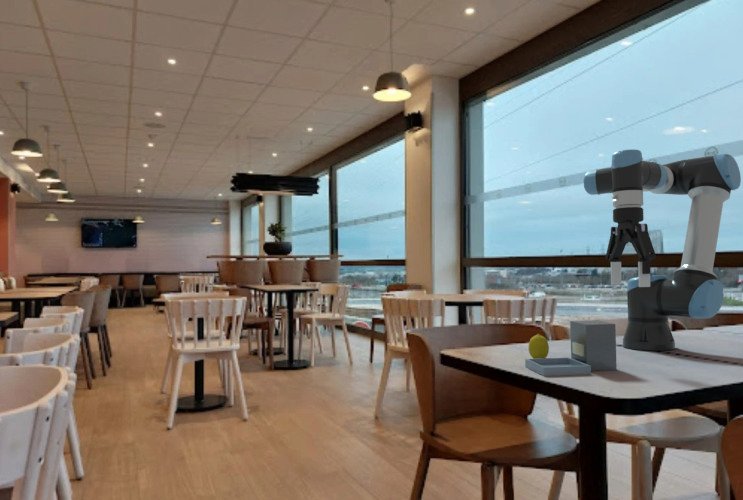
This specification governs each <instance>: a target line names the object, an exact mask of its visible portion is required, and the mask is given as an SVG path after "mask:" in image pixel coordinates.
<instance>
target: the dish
mask: <svg viewBox="0 0 743 500" xmlns="http://www.w3.org/2000/svg"><path fill="white" fill-rule="evenodd" d="M524 364H525V368H527V369H529V370H531V371H533V372H535V373H537V374H539V375H542V376H543V377H551V376H578V375H580V376H581V375H592V371H591V366H590V365H587V364H585V363H582V362H580V361H577V360H574V359H572V358H571V357H546V358H538V359H534V358H525V359H524Z"/></svg>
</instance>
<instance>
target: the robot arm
mask: <svg viewBox="0 0 743 500" xmlns="http://www.w3.org/2000/svg"><path fill="white" fill-rule="evenodd" d="M643 159H644V157H643V154H642V151H641V150H639V149H636V148H635V149H623V150H618V151H615V152H613V154H612V155H611V167H606V168H600V169H598V168H596V169H594V170H588V171H587V172H586V173H585V175H584V176H583V187H584V190H585V192H586V193H587V194H588V195H591V196H592V195H593V196H594V195H599V196H600V195H603V194H604V195H605V194H612V196H611V199H612V206H613V210H612V221H613V223H617V226H611V227H610V237H609V240H608V245H607V250H606V254H605V260H608V262H610V285H611V286H622V284H623V283H622V259H621V257H622V255H623V252H624V250H625V248H626V245H627V244H629V243H631V245H632V247H633V249H634V251H635V253H636V255H637V257H638V260H637V268H638V269H637V272H638V273H637V275H638V276H637V277H636V276H635V277H632V278H630V279H628V281H627V283H626V284H627V285H626V298H627V302H626V304H627V325H626V328H625V332H624V334H623V338H622V347H624V348H625V349H626V348H627V349H631V350H639V351H654V352H655V351H663V352H664V351H671V350H675V349H676V342H675V339H674V336H673V333H672V331H671V328H670V325H669V317H675V318H688V319H689V318H690V319H694V320H697V319H698V320H699V319H711V318H713V317H714V316H715V315H717V314H718V313H719V312H720V310H721V307H722V305H723V302H724V295H725V294H724V286H723V285H722V283H721V281H719V280H718V276H717V275H716V274H715V272H713V271H714V263H715V259H716V258H715V257H716V251H717V244H718V237H719V233H720V225H721V220H722V212H723V206H724V203H725V202H727V201H728V200H729V199H730V198H731V191H736V190H738V189H739V188H740V186H741V182H742V181H741V180H742V178H741V177H742V176H741V171H740V167H739V165H738V163H737V160H736V159H735V158H734V156H732V155H731V154H728V153H721V154H713V155H708V156H703V157H702V156H701V157H696V158H695V157H694V158H689V159H681V160H678V161H672V162H668V163H665V164H661V163H657V162H655V161H647V160H643ZM644 192H650V193H652V194H657V195H673V196H674V195H679V196H683V195H684V196H686V195H687V197H689V198H690V199H691V205H690V209H689V216H688V220H687V221H688V222H687V226H686V227H687V228H686V232H685V239H684V245H683V251H682V258H681V262H680V266H679V267H678V268H677V269H674V271H673V272H674V273H673V277H672V279H671V278H668V276H667V275H666V274H655V275H651V262H652V260H655V259H656V258H657V255H656V252H655V249H654V246H653V243H652V239H651V236H650V233H649V229H648V227H649V226H648V224H647V223H641V222H643V221H644V218H645V217H644V208H643V206H644Z"/></svg>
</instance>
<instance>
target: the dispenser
mask: <svg viewBox="0 0 743 500" xmlns="http://www.w3.org/2000/svg"><path fill="white" fill-rule="evenodd" d="M569 323H570V325H569V327H570V356H571V357H570V358H572V359H574V360H577V361H580V362H582V363H585V364H587V365H590V366H591V372H600V371H601V372H602V371H603V372H605V371H617V337H616V334H617V332H616V330H617V329H616V323H612V322H608V321H603V320H599V319H598V320H597V319H596V320H593V319H592V320H570V321H569Z"/></svg>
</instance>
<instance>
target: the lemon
mask: <svg viewBox="0 0 743 500" xmlns="http://www.w3.org/2000/svg"><path fill="white" fill-rule="evenodd" d="M549 352H550V345H549V343H548V340H547V338H546V337H545V336H543V335H541V334H539V333H537V334H536V335H533V336H532V337H531V338H530V340H529V343H528V353H529V355H530V356H531V359H538V358H548V355H549Z"/></svg>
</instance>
